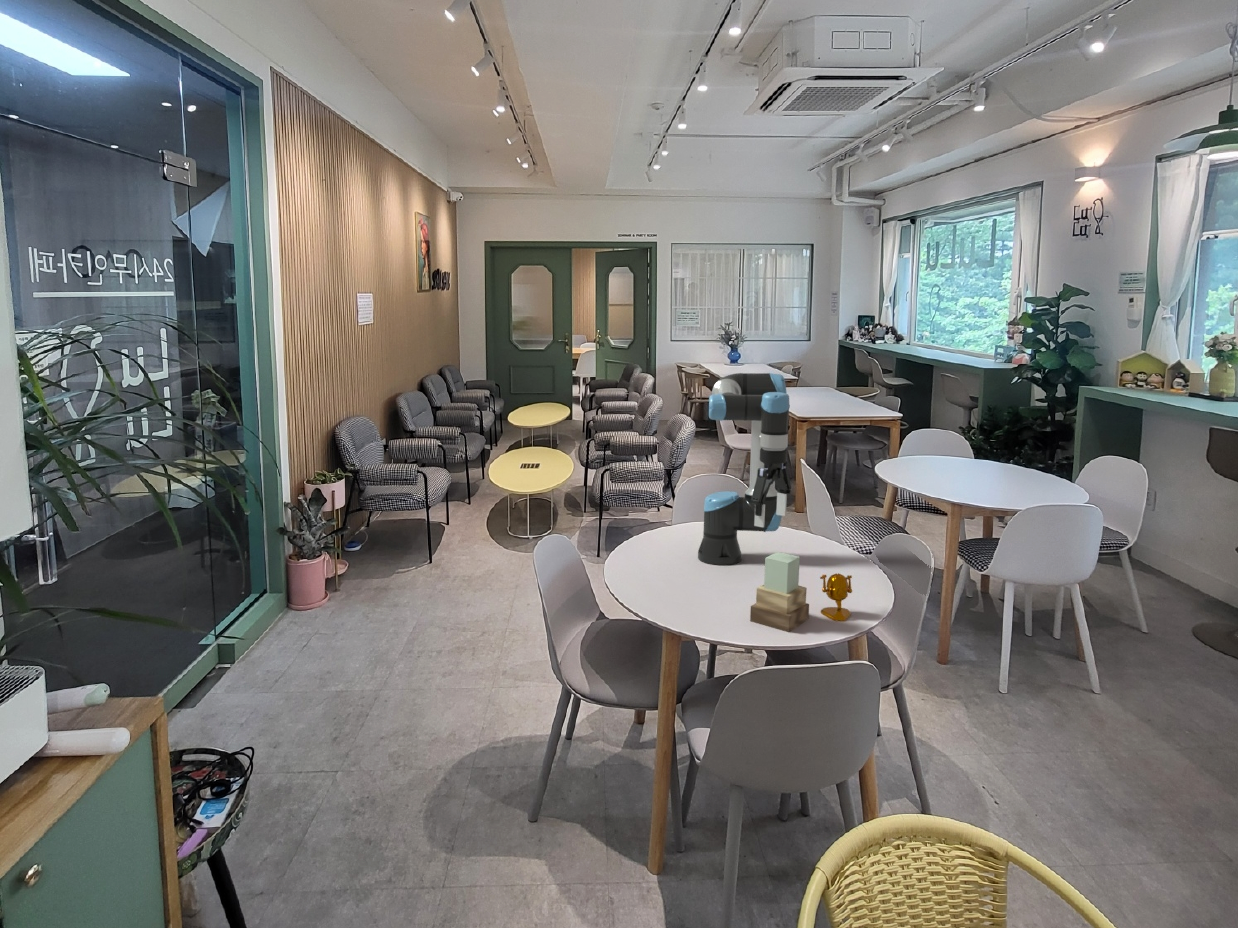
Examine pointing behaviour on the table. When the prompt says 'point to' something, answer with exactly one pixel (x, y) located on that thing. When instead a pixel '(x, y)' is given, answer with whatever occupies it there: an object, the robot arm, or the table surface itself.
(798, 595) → the oak slab
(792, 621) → the walnut slab
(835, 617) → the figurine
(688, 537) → the table surface
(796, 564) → the sage block
